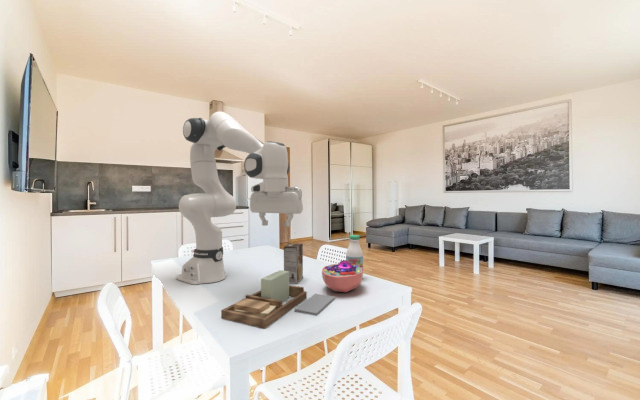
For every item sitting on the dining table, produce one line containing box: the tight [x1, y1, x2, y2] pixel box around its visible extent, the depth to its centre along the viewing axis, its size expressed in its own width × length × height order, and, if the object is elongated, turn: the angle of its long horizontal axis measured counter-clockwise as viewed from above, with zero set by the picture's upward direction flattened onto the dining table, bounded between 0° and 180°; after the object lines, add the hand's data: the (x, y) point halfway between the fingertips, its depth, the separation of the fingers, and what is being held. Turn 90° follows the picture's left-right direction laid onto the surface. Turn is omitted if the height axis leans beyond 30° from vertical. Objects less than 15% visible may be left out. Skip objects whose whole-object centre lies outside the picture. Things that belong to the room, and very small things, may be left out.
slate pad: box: [294, 293, 336, 317], centre depth 99 cm, size 8×16×1 cm, turn 156°
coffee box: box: [283, 243, 304, 285], centre depth 127 cm, size 9×6×16 cm
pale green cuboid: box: [260, 269, 290, 303], centre depth 101 cm, size 4×12×10 cm, turn 155°
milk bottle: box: [345, 234, 364, 280], centre depth 130 cm, size 8×8×20 cm
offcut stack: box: [233, 297, 276, 318], centre depth 90 cm, size 13×7×4 cm, turn 73°
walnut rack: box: [220, 284, 308, 329], centre depth 97 cm, size 16×26×4 cm, turn 156°
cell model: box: [321, 259, 364, 293], centre depth 115 cm, size 17×20×11 cm
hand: (275, 225), depth 101 cm, fingers open, 8 cm apart
